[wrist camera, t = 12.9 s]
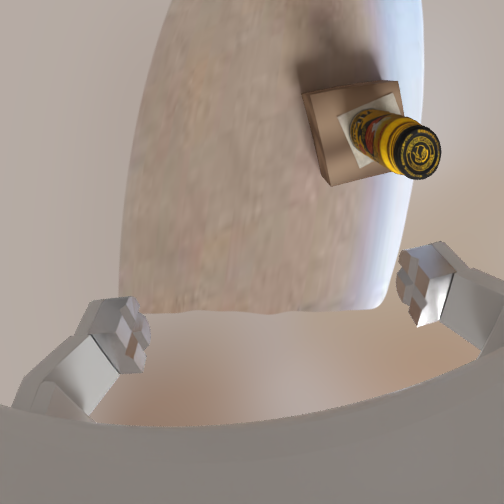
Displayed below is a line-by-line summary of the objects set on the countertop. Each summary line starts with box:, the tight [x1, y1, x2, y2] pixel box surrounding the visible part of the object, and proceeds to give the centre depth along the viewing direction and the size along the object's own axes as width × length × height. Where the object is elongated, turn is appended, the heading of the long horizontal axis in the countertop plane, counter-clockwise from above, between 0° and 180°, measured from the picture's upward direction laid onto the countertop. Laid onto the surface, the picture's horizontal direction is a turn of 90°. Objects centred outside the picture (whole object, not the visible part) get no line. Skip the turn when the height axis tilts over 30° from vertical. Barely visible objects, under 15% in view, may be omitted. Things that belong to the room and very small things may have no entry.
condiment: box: [337, 93, 441, 180], centre depth 27 cm, size 7×8×12 cm
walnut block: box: [302, 80, 404, 187], centre depth 35 cm, size 12×12×5 cm
